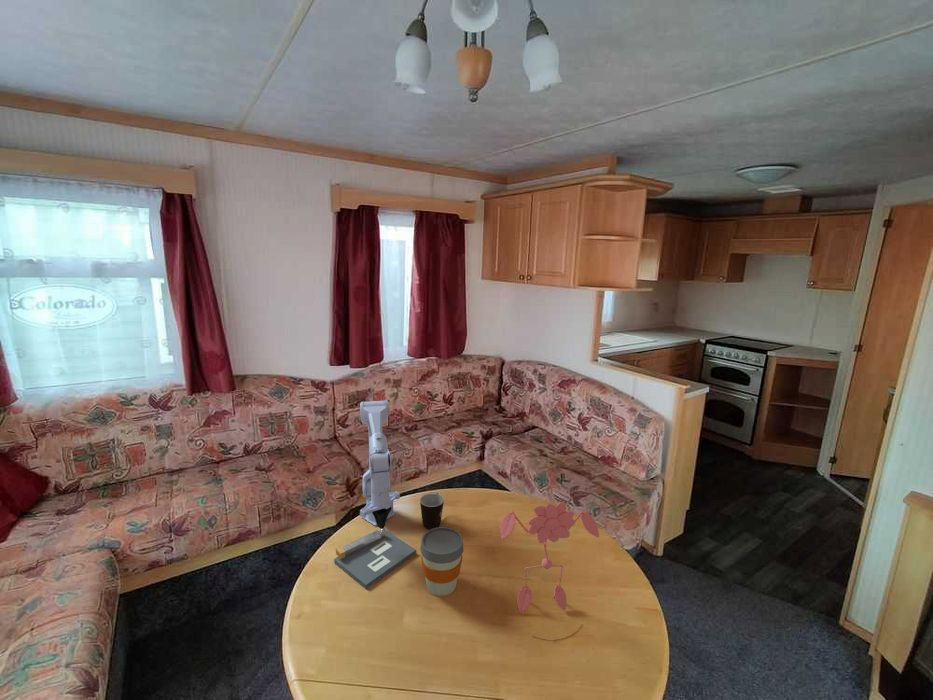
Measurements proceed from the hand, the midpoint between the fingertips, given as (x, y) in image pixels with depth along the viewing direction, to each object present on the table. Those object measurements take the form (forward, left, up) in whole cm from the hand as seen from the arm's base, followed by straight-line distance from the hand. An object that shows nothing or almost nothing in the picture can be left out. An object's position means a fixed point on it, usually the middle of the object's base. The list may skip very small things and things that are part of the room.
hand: (380, 526), depth 135 cm
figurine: (-13, +53, -10) cm, 55 cm away
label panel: (+3, +1, -9) cm, 10 cm away
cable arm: (+5, -5, -7) cm, 10 cm away
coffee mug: (-23, +2, -10) cm, 25 cm away
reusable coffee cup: (-3, +24, -10) cm, 26 cm away
